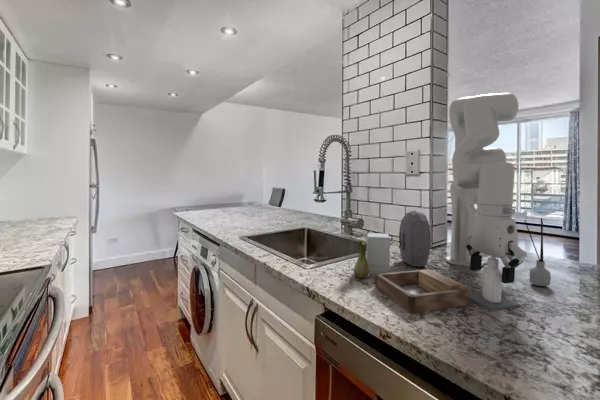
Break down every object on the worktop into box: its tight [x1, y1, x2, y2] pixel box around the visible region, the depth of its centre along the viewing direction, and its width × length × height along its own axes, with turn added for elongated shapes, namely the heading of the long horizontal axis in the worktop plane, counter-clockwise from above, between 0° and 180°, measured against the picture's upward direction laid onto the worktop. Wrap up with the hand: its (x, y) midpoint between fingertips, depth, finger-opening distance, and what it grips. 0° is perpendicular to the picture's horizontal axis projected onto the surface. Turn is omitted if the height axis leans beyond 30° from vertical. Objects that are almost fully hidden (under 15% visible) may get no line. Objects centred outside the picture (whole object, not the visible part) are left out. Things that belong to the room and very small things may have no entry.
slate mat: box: [470, 291, 521, 311], centre depth 78 cm, size 9×9×1 cm
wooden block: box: [417, 269, 464, 293], centre depth 84 cm, size 4×13×4 cm, turn 14°
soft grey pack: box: [398, 210, 431, 267], centre depth 110 cm, size 15×8×20 cm, turn 3°
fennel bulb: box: [353, 240, 370, 279], centre depth 97 cm, size 6×5×12 cm
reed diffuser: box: [524, 218, 552, 287], centre depth 89 cm, size 10×7×20 cm
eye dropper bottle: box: [481, 255, 503, 303], centre depth 78 cm, size 4×6×12 cm
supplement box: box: [366, 232, 391, 275], centre depth 103 cm, size 7×7×13 cm
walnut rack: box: [374, 268, 472, 314], centre depth 82 cm, size 17×17×4 cm
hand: (490, 275), depth 78 cm, fingers open, 9 cm apart
